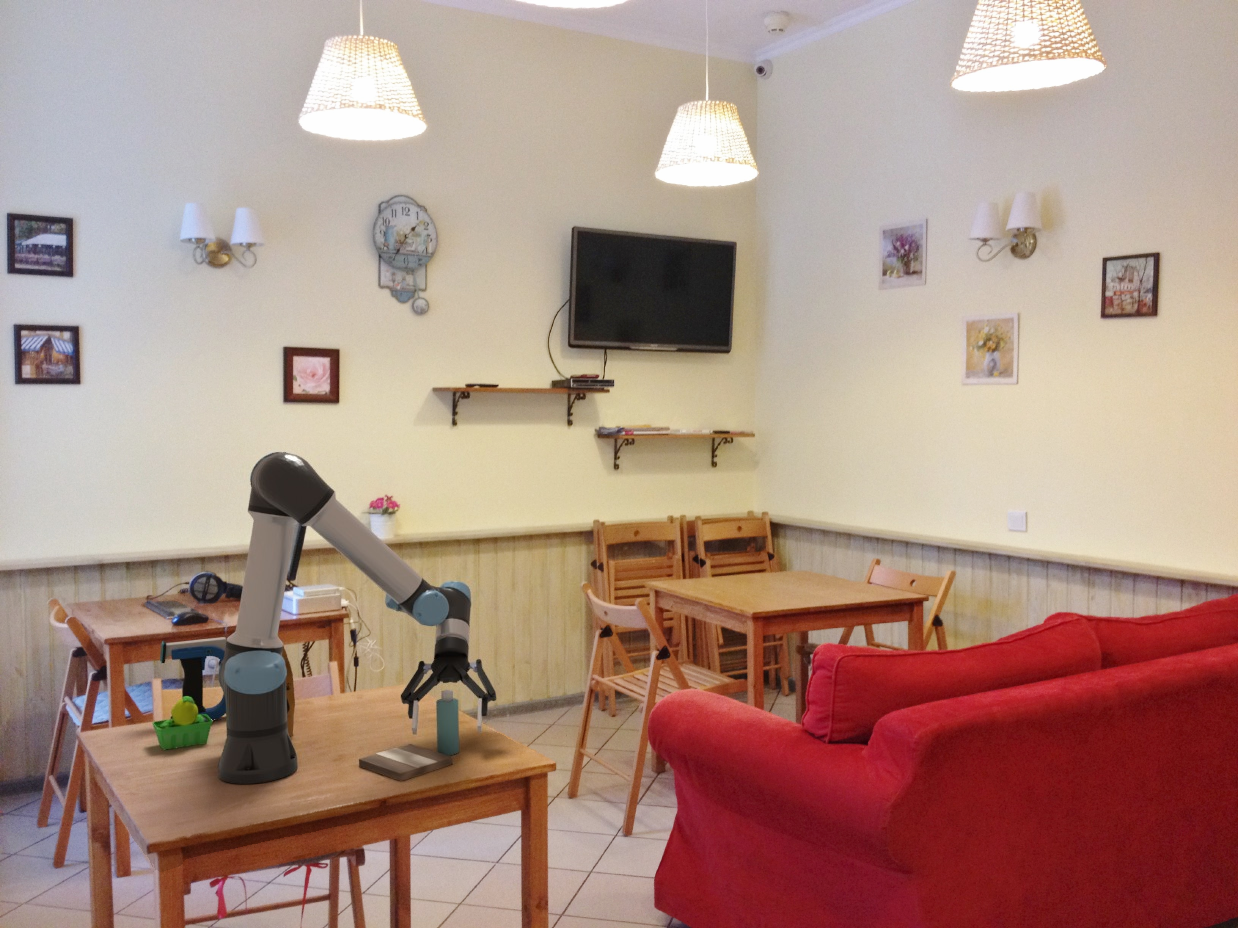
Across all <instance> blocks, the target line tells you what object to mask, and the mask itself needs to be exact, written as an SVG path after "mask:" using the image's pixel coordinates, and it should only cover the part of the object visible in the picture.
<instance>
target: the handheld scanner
mask: <svg viewBox="0 0 1238 928" xmlns="http://www.w3.org/2000/svg"><path fill="white" fill-rule="evenodd" d="M226 641H227V638H226V636H221V637H211V638H204V639H203V638H202V639H194V640H186V641H175V642H167V641H166V640H162V642H161V643H160V655H159V662H160V663H161V664H165V663H166V659H168V658H170V657H171V660H172V661H176V660H177V661H178V660H179V662H180V664H181V667H182V669H183V675H184V676H183V683H182V687H181V688H182V689H181V691H182V694H181V699H182V698H183V697H185V696H189V697H191V698H192V699H193V701H194V704H195V705H196V706H197V708H198V715H201V714H206V715H208V716H209V718H210V719H212V720H214V719H217V720H219V719H220V718H222V717H223V716H226V701H225V695H224V692H222V693H223V695H222V698H221V699H220V701H219V702H218V703H217V704H216V705H214V706H212V707H207V708H206V707H205V706H204V674H203V673H204V672H203V671H205V669H206V659H207V657H215V658H217V659H219V661H220V662H222V660H223V658H224V653H225V647H226ZM169 719H173V717H172V715H171V716H170V718H169Z"/></svg>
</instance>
